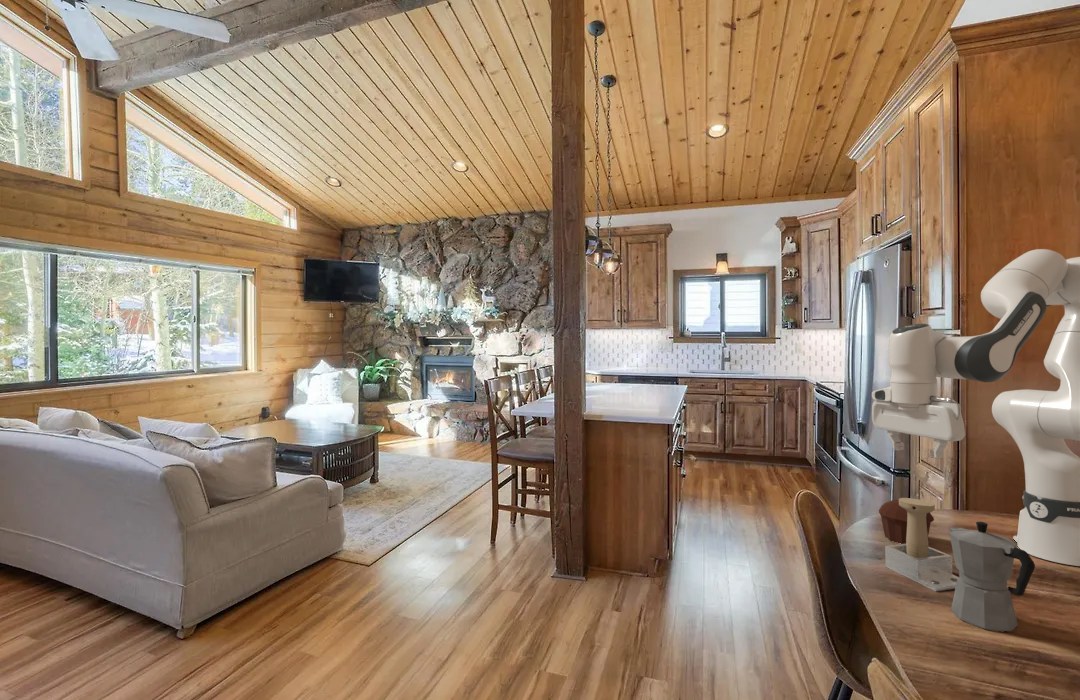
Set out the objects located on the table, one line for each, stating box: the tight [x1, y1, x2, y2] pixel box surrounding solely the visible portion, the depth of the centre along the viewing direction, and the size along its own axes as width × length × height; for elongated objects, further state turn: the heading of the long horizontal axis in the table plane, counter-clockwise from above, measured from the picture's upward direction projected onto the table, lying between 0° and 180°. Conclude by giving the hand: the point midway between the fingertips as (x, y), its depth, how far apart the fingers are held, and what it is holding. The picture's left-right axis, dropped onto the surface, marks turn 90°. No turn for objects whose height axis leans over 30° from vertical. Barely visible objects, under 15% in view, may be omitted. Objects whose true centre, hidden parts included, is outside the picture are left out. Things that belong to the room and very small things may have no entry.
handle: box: [898, 497, 936, 558], centre depth 112 cm, size 5×6×15 cm
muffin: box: [878, 499, 935, 544], centre depth 130 cm, size 12×11×10 cm
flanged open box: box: [884, 543, 959, 592], centre depth 110 cm, size 9×12×5 cm
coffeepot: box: [947, 521, 1036, 633], centre depth 92 cm, size 15×9×18 cm, turn 6°
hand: (916, 453), depth 116 cm, fingers open, 8 cm apart
